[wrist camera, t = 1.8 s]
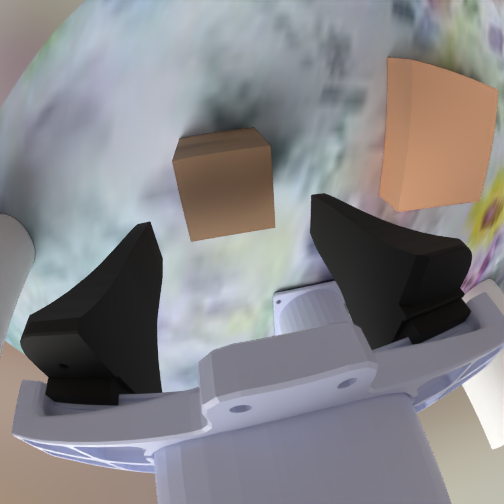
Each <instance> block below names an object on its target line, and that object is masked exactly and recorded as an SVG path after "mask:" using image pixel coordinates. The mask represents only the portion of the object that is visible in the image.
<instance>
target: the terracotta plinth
mask: <svg viewBox="0 0 504 504" xmlns="http://www.w3.org/2000/svg"><path fill="white" fill-rule="evenodd" d="M497 102H498V90H496V89H494V88H492V87H490V86H488V85H485V84H483V83H481V82H478V81H476V80H474V79H471V78H468V77H466V76H463V75H461V74H458V73H455V72H452V71H449V70H446V69H443V68H440V67H437V66H433V65H430V64H427V63H423V62H419V61H416V60H411V59H401V58H388V57H387V115H386V132H385V145H384V156H383V165H382V174H381V182H380V189H379V196H380V197H382V198H383V199H384V200H385V201H386V202H387V203H388V204H389V205H390V206H392V207H393V208H394V209H395V210H396V211H397V212H401V211H408V210H416V209H423V208H431V207H438V206H446V205H454V204H461V203H470V202H478V201H479V200H480V197H481V193H482V190H483V186H484V182H485V178H486V173H487V169H488V164H489V160H490V154H491V149H492V143H493V137H494V130H495V122H496V113H497Z"/></svg>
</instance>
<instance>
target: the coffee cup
mask: <svg viewBox="0 0 504 504" xmlns="http://www.w3.org/2000/svg"><path fill="white" fill-rule="evenodd" d="M34 260H35V249H34V245H33V242H32V239H31V237H30V235H29V234H28V232H27V230H26V229H25V228H24V227H23V225H22V224H21V223H20V222H18V221H17V220H16V219H14V218H13V217H11V216H9V215H6V214H0V356H1V352H2V348H3V344H4V341H5V337H6V334H7V331H8V327H9V324H10V321H11V318H12V315H13V312H14V309H15V307H16V304H17V301H18V298H19V296H20V293H21V291H22V288H23V286H24V283H25V281H26V279H27V276H28V274H29V272H30V269H31V267H32V265H33V263H34Z"/></svg>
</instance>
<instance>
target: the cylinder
mask: <svg viewBox="0 0 504 504" xmlns="http://www.w3.org/2000/svg"><path fill="white" fill-rule="evenodd" d="M483 292H486V293H487V294H488V296H489V297H490V298H491V299H492V301H493V302H494V303H495V305H496V306H497V307H498V309H499V310H500V311H501V313H502V314H503V315H504V293H503V292H502V290H501V289H500V288H499V287H498V286H497V284H496V283H495V282H494V281H493V280H492V279H487V280H484V281H482V282H481V283H479V284H477V285H476V286H475V287H473V288H472V289H471V290H470V291H468V292H467V293H466V294H465V295H464V297H463V298H462V299H463V301H464V302H465V303H467V302H468V301H469V300H470V299H471V298H473V297H475V296H477V295H479V294H481V293H483ZM462 386H463V387H464V389H465V391H466V393H467V395H468V397H469V399H470V401H471V403H472V405H473V407H474V409H475V412H476V414H477V416H478V418H479V420H480V422H481V424H482V427H483V429H484V431H485V433H486V436H487V438H488V441H489V443H490V446H491V448H492V449H495V448H498V447H500V446H502V445H504V348H503V349H502V350H501V351H500V353H499V354H498V355H497V356H496V357H495V358H494V359H493V360H492V361H491V363H490V364H489V365H488V366H487V367H486V368H484V369H483V370H482V371H480V372H479V373H478V374H476V375H475V376H473V377H472V378H471V379H469V380H468V381H466V382H465V383H463V384H462Z"/></svg>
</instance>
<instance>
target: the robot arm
mask: <svg viewBox="0 0 504 504" xmlns="http://www.w3.org/2000/svg"><path fill="white" fill-rule="evenodd" d="M310 234H311V236H312V239H313V241H314V244H315V246H316V248H317V250H318V252H319V254H320V256H321V257H322V259H323V261H324V262H325V264H326V266H327V268H328V269H329V271H330V273H331V274H332V276H333V278H334V280H335V281H331V282H326V283H322V284H317V285H312V286H308V287H303V288H298V289H293V290H288V291H283V292H278V293H275V294H274V295H273V308H274V330H275V336H272V337H267V338H262V339H256V340H251V341H246V342H240V343H234V344H231V345H227V346H224V347H221V348H218V349H215V350H213V351H211V352H210V353H209V354H208V355H207V356H205V357H204V358H203V359H202V360H201V361H199V364H198V377H199V387H197V388H193V389H190V390H186V391H178V392H165V393H162V387H161V380H160V371H159V361H158V345H157V317H158V309H159V300H160V293H161V285H162V277H163V258H162V255H161V252H160V249H159V246H158V243H157V240H156V237H155V234H154V231H153V228H152V225H151V222H146V223H141V224H137V225H136V226H135V227H134V228H133V229H132V230H131V231H130V232H129V233H128V234H127V236H126V237H125V238H124V239H123V240H122V241H121V242H120V243H119V245H118V246H117V247H116V248H115V249H114V250H113V251H112V252H111V253H110V254H109V255H108V256H107V257H106V259H105V260H104V261H103V262H102V263H101V264H100V265H99V266H98V267H97V268H96V269H95V270H94V271H92V272H91V273H90V274H89V275H88V276H87V277H86V278H85V279H83V280H82V281H81V282H80V283H78V284H77V285H76V286H75V287H73V288H72V289H71V290H70V291H68V292H67V293H66V294H64V295H63V296H61V297H60V298H58V299H57V300H55V301H54V302H52V303H51V304H49V305H47V306H46V307H44V308H42V309H40V310H39V311H37V312H35V313H33V314H32V315H30V316H29V318H28V321H27V324H26V326H25V329H24V332H23V334H22V337H21V340H20V344H21V347H22V349H23V351H24V353H25V355H26V356H27V357H28V358H29V359H30V360H31V361H32V362H33V363H34V364H35V365H36V366H37V367H38V368H39V369H40V370H41V371H42V372H44V373H45V374H46V375H47V376H48V377H49V378H48V383H47V384H46V383H43V382H40V381H31V380H22V382H21V386H20V390H19V395H18V399H17V405H16V409H15V415H14V421H13V427H12V434H13V436H15V437H17V438H19V439H21V440H22V441H24V442H26V443H28V444H30V445H32V446H34V447H35V448H38V449H40V450H42V451H44V452H46V453H48V454H50V455H52V456H56V457H60V458H64V459H68V460H73V461H77V462H82V463H87V464H92V465H97V466H103V467H108V468H114V469H121V470H128V471H137V472H147V473H155V478H156V489H157V499H158V504H451V502H450V498H449V495H448V492H447V489H446V486H445V484H444V481H443V478H442V475H441V472H440V470H439V467H438V464H437V462H436V459H435V456H434V454H433V451H432V449H431V446H430V444H429V441H428V439H427V437H426V434H425V432H424V430H423V427H422V425H421V422H420V420H419V418H418V416H417V413H418V412H420V411H421V410H423V409H425V408H427V407H428V406H430V405H432V404H433V403H435V402H436V401H438V400H440V399H441V398H443V397H444V396H446V395H447V394H449V393H450V392H452V391H453V390H454V389H456V388H458V387H459V386H461V385H462V384H463V383H465V382H466V381H468V380H469V379H471V378H472V377H473V376H475V375H476V374H478V373H479V372H480V371H482V370H483V369H484V368H486V367H487V366H488V365H489V364H490V363H491V361H492V360H493V359H494V358H495V357H496V356H497V355H498V354H499V353H500V351H501V350H502V349H503V348H504V315H503V314H502V313H501V311H500V310H499V309H498V307H497V306H496V305H495V303H494V302H493V301H492V299H491V298H490V297H489V296H488V294H487V293H486V292H483V293H481V294H479V295H477V296H475V297H473V298H471V299H470V300H469V301H468V302H467V303H465V302H464V301H463V299H462V298H463V297H464V292H463V291H462V290H461V289H460V287H461V285H462V283H463V281H464V279H465V277H466V275H467V273H468V271H469V268H470V266H471V261H472V253H471V251H470V249H469V248H468V247H467V246H466V245H465V244H464V243H463V242H462V241H461V240H460V239H457V238H450V237H443V236H436V235H432V234H427V233H422V232H418V231H414V230H411V229H407V228H404V227H401V226H398V225H395V224H392V223H389V222H387V221H384V220H381V219H379V218H376V217H374V216H372V215H370V214H368V213H365V212H363V211H361V210H359V209H357V208H355V207H353V206H351V205H349V204H347V203H345V202H343V201H341V200H339V199H337V198H334V197H332V196H330V195H327V194H324V193H322V194H314V195H311V224H310ZM278 300H279V301H278ZM345 303H346V305H347V308H348V310H349V313H350V316H351V318H352V320H351V318H350V316H349V314H348V312H347V310H346V308H345V306H344V304H345ZM352 321H353V322H352Z"/></svg>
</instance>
